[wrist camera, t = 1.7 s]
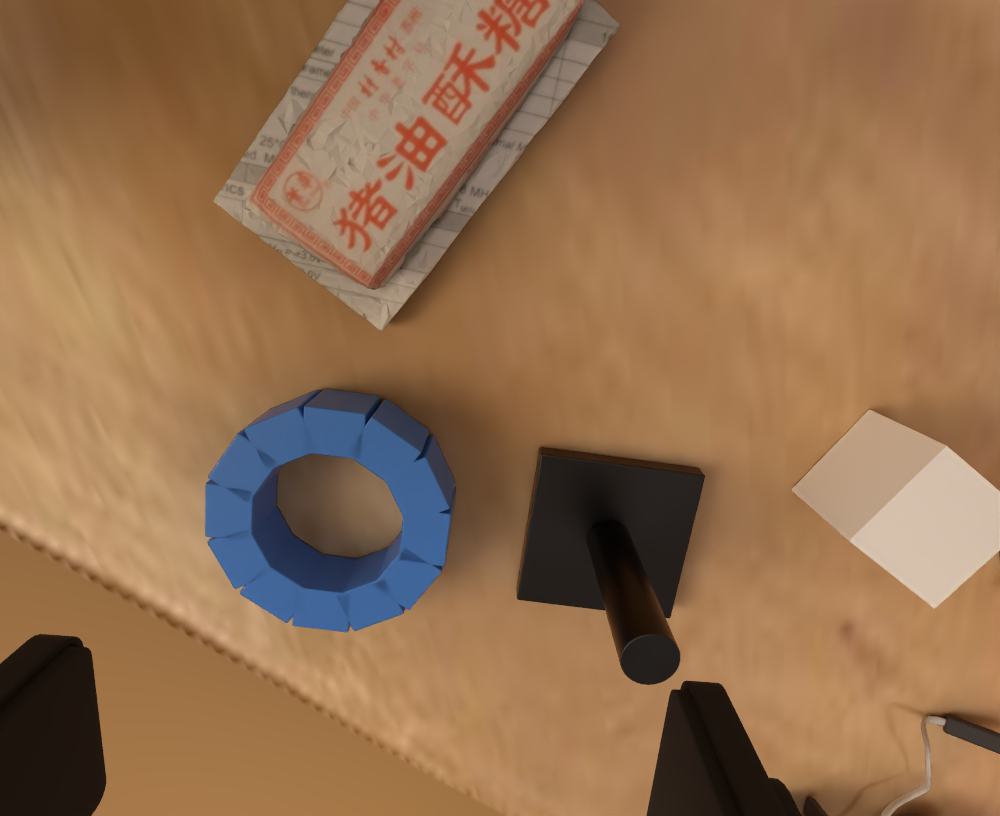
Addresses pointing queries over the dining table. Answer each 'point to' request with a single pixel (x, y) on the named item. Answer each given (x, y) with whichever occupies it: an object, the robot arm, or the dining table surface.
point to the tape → (295, 565)
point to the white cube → (906, 505)
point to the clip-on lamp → (950, 726)
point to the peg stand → (612, 548)
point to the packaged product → (405, 135)
